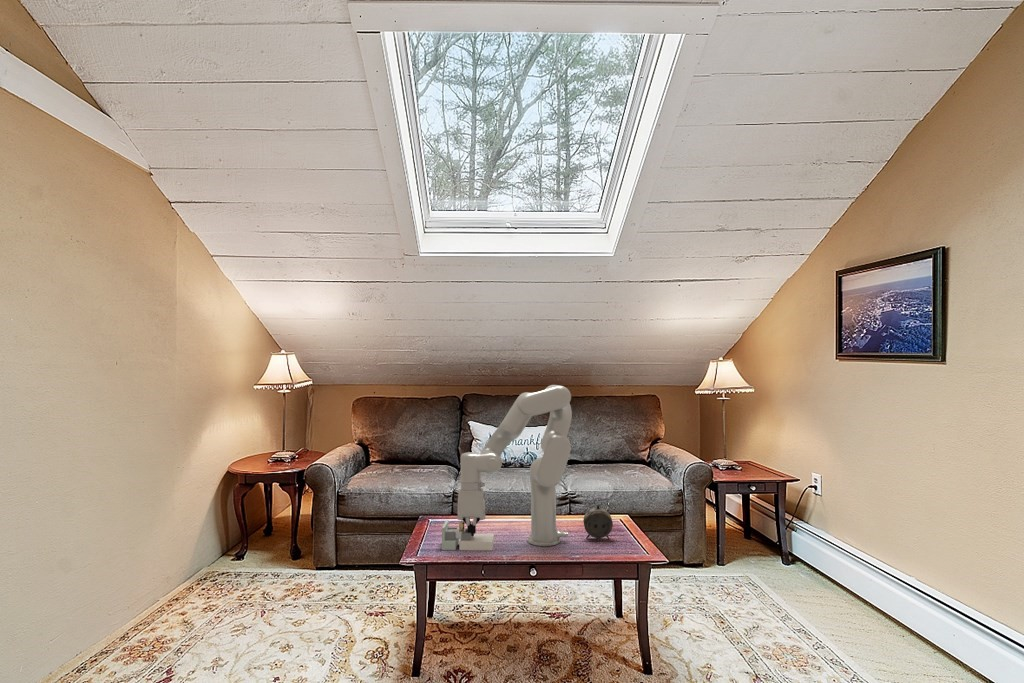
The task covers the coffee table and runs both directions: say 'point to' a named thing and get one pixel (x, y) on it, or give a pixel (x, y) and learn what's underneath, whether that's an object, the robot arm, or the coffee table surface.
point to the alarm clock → (598, 522)
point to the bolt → (458, 530)
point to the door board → (476, 541)
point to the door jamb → (448, 537)
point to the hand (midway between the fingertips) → (471, 535)
